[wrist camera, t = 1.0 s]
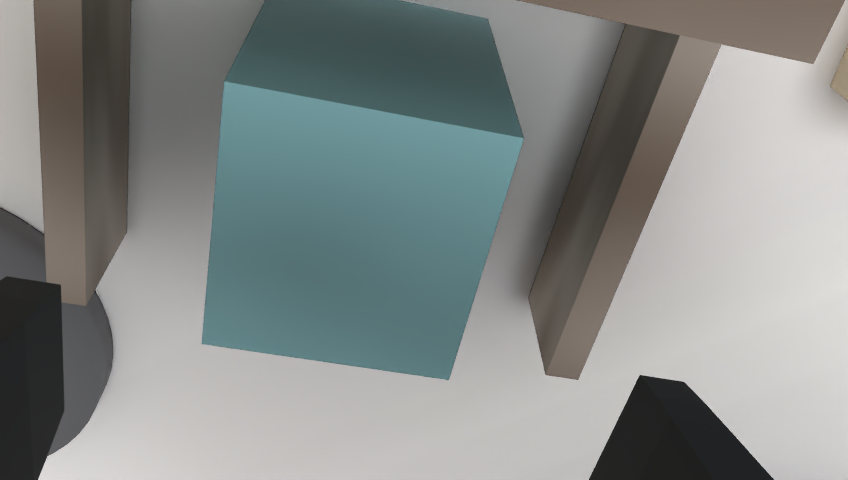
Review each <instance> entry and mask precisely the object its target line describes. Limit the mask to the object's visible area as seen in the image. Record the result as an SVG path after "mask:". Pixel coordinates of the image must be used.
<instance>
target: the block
mask: <svg viewBox="0 0 848 480" xmlns="http://www.w3.org/2000/svg"><path fill="white" fill-rule="evenodd" d="M523 140H524V137H523V134H522V130H521V127H520V124H519V120H518V117H517V114H516V110H515V107H514V104H513V101H512V97H511V94H510V91H509V87H508V84H507V81H506V77H505V74H504V71H503V68H502V64H501V61H500V58H499V54H498V51H497V48H496V44H495V41H494V38H493V34H492V31H491V28H490V25H489V21H488V19H486V18H481V17H476V16H472V15H467V14H462V13H457V12H453V11H448V10H443V9H438V8H434V7H429V6H424V5H419V4H415V3H410V2H405V1H400V0H265V2H264V4H263V6H262V8H261V10H260V12H259V14H258V16H257V18H256V20H255V22H254V24H253V26H252V28H251V30H250V32H249V34H248V36H247V38H246V40H245V41H244V43H243V45H242V47H241V49H240V51H239V53H238V55H237V57H236V59H235V61H234V63H233V65H232V67H231V69H230V71H229V73H228V75H227V77H226V79H225V81H224V90H223V101H222V113H221V125H220V137H219V148H218V160H217V172H216V183H215V195H214V207H213V218H212V230H211V242H210V254H209V265H208V277H207V289H206V300H205V312H204V324H203V335H202V344H206V345H213V346H220V347H227V348H234V349H240V350H247V351H254V352H261V353H268V354H275V355H282V356H288V357H295V358H302V359H309V360H316V361H323V362H330V363H336V364H343V365H350V366H357V367H364V368H371V369H378V370H384V371H391V372H398V373H405V374H412V375H419V376H425V377H432V378H439V379H446V380H449V378H450V374H451V371H452V368H453V365H454V362H455V358H456V355H457V352H458V349H459V346H460V342H461V339H462V336H463V333H464V329H465V326H466V323H467V320H468V317H469V313H470V310H471V307H472V304H473V301H474V297H475V294H476V291H477V288H478V284H479V281H480V278H481V275H482V272H483V268H484V265H485V262H486V259H487V255H488V252H489V249H490V246H491V243H492V239H493V236H494V233H495V230H496V227H497V223H498V220H499V217H500V214H501V210H502V207H503V204H504V201H505V198H506V194H507V191H508V188H509V185H510V182H511V178H512V175H513V172H514V169H515V165H516V162H517V159H518V156H519V153H520V149H521V146H522V143H523Z"/></svg>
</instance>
